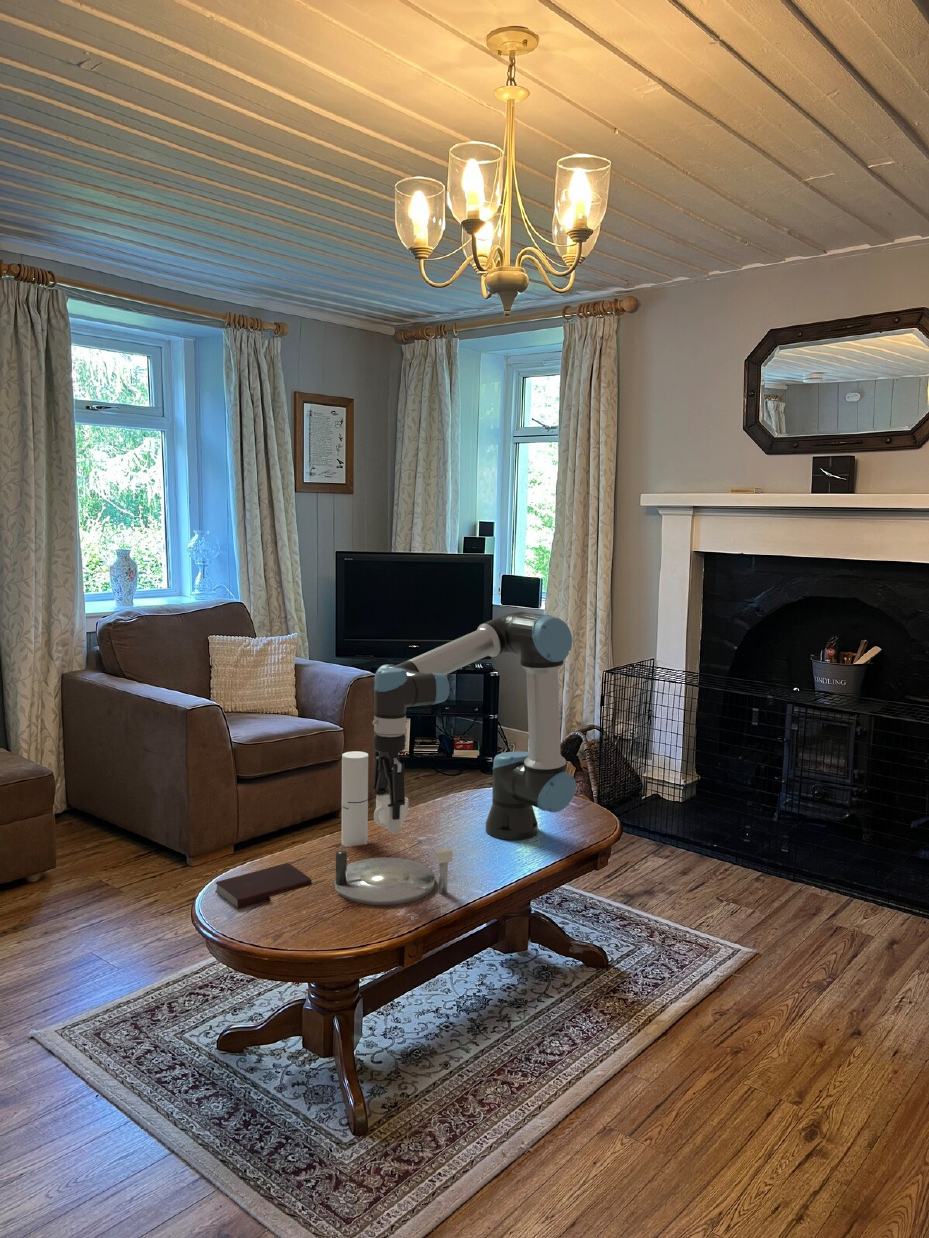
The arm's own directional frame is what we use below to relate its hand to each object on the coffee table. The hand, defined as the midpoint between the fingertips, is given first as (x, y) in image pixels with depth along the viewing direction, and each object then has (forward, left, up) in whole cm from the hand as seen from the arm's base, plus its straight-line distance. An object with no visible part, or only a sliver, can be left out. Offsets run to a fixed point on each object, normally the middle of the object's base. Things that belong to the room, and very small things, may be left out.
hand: (387, 825), depth 215 cm
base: (+1, 0, -16) cm, 16 cm away
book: (+28, -11, -16) cm, 34 cm away
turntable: (+1, 0, -14) cm, 15 cm away
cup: (0, 0, 0) cm, 1 cm away
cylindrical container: (-2, -32, -16) cm, 36 cm away
